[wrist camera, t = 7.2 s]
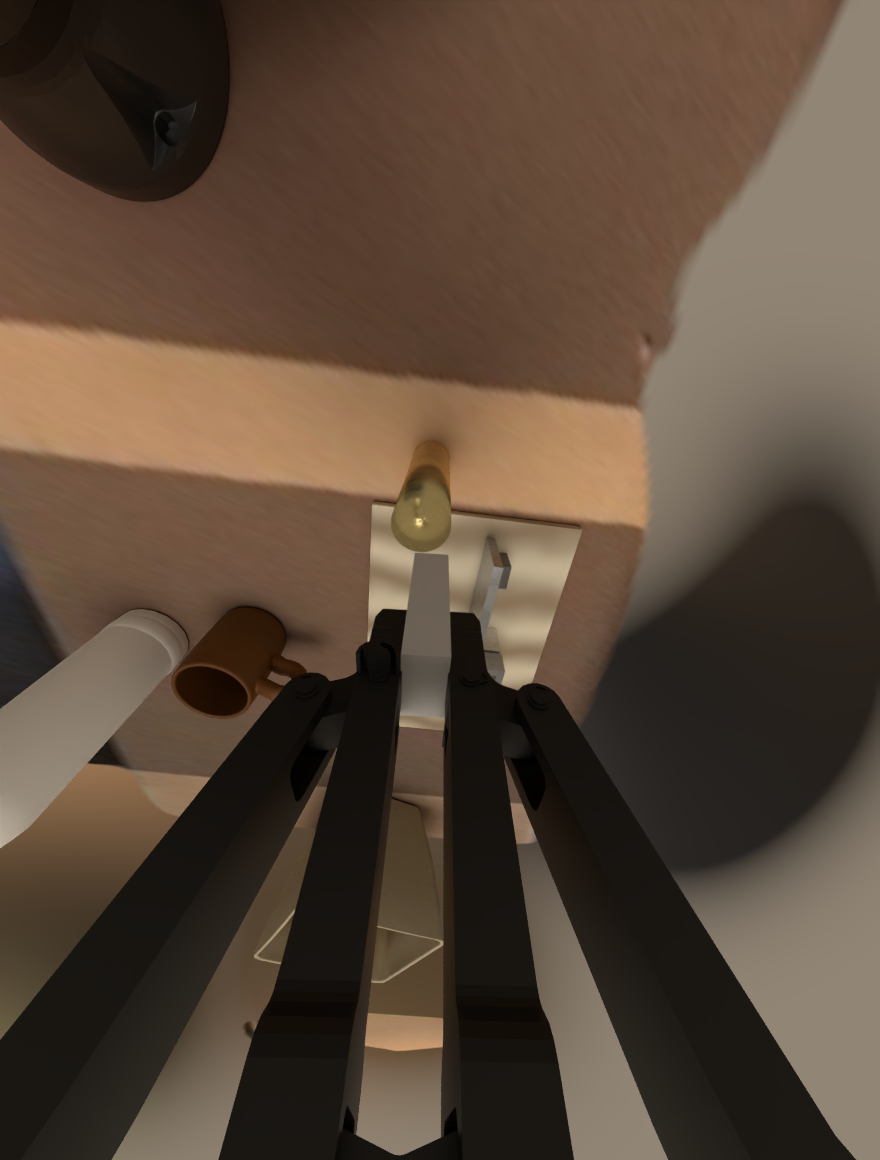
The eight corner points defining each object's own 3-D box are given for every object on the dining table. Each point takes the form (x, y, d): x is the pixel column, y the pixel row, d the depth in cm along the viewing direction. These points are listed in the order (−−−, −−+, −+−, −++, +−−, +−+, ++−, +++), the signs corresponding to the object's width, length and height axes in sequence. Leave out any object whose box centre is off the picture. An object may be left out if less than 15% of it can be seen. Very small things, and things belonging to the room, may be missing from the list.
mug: (326, 615, 42) (298, 675, 34) (325, 665, 46) (299, 730, 38) (217, 599, 41) (161, 656, 33) (225, 652, 45) (176, 715, 37)
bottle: (133, 595, 41) (-403, 986, 15) (201, 633, 44) (-159, 1025, 18) (109, 637, 44) (-373, 1025, 18) (174, 671, 47) (-168, 1054, 21)
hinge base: (451, 546, 37) (452, 582, 31) (513, 553, 37) (527, 590, 31) (424, 724, 50) (422, 775, 44) (471, 729, 50) (474, 779, 44)
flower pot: (395, 854, 68) (381, 987, 54) (295, 825, 64) (250, 961, 49) (447, 802, 60) (448, 942, 45) (336, 764, 56) (297, 906, 41)
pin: (415, 438, 33) (392, 491, 19) (451, 443, 33) (455, 498, 19) (412, 475, 34) (389, 548, 20) (446, 479, 35) (447, 555, 21)
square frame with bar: (459, 532, 36) (461, 563, 30) (522, 541, 36) (536, 574, 30) (433, 665, 44) (431, 709, 38) (485, 671, 44) (490, 716, 39)
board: (373, 501, 36) (372, 504, 35) (579, 526, 37) (582, 529, 36) (366, 716, 50) (364, 722, 50) (512, 730, 51) (513, 736, 51)
